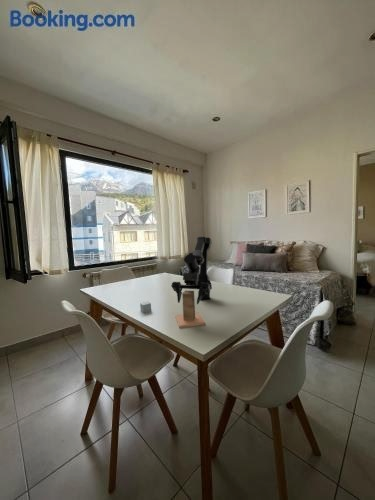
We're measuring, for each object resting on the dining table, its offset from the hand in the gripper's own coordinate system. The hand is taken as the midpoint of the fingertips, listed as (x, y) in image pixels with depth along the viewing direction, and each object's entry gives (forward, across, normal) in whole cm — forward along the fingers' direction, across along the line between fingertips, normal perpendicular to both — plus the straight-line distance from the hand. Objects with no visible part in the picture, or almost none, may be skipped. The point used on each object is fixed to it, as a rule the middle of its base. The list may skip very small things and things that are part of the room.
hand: (187, 303), depth 96 cm
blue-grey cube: (+1, -27, +12) cm, 30 cm away
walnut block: (+5, 0, +7) cm, 8 cm away
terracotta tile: (+5, 0, +7) cm, 9 cm away
